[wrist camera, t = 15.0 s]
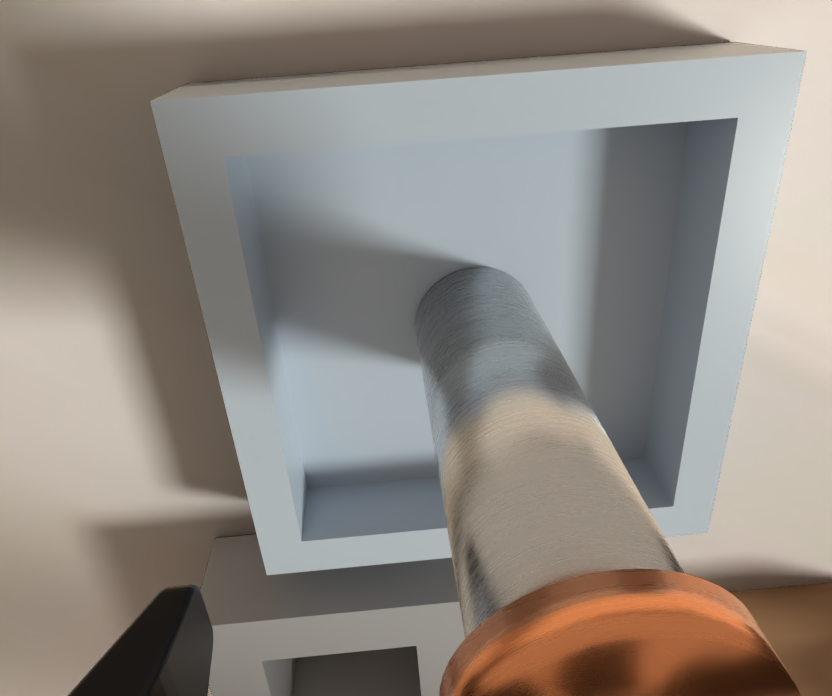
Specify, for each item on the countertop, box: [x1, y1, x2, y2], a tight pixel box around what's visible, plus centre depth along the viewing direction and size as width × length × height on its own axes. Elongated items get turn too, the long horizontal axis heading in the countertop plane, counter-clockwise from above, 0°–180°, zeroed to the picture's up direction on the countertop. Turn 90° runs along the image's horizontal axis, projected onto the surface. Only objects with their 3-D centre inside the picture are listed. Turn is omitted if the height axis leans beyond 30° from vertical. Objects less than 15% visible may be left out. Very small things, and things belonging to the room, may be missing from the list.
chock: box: [730, 583, 832, 696], centre depth 20 cm, size 5×4×4 cm
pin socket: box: [200, 534, 465, 696], centre depth 19 cm, size 7×7×3 cm
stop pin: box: [415, 267, 801, 696], centre depth 11 cm, size 4×4×10 cm
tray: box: [150, 42, 807, 575], centre depth 15 cm, size 11×11×2 cm
